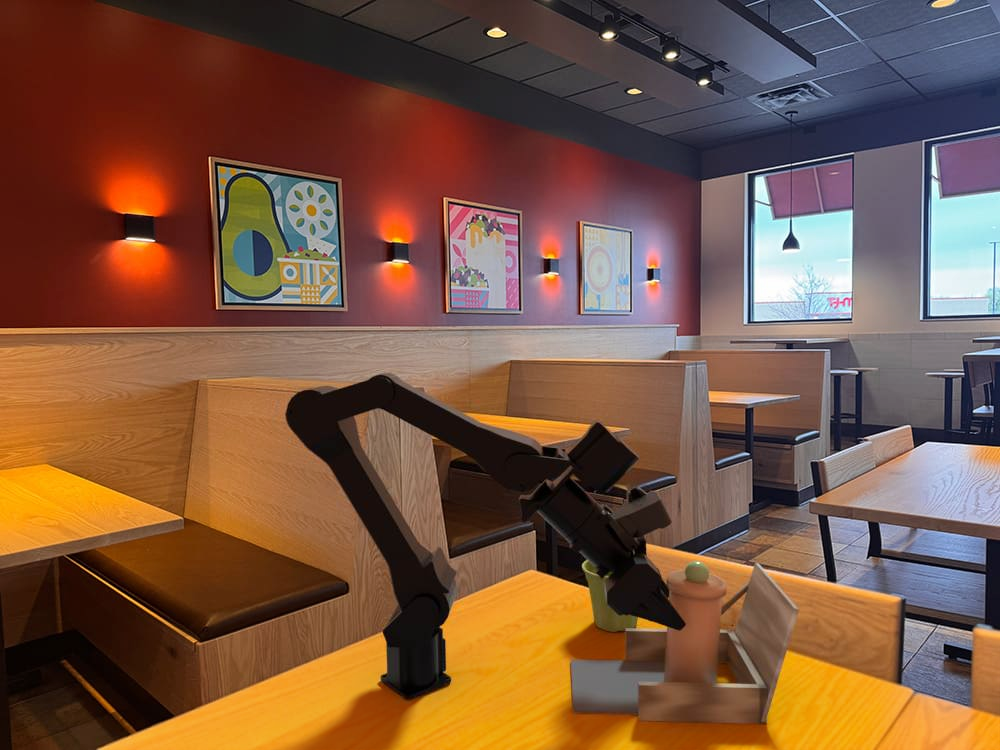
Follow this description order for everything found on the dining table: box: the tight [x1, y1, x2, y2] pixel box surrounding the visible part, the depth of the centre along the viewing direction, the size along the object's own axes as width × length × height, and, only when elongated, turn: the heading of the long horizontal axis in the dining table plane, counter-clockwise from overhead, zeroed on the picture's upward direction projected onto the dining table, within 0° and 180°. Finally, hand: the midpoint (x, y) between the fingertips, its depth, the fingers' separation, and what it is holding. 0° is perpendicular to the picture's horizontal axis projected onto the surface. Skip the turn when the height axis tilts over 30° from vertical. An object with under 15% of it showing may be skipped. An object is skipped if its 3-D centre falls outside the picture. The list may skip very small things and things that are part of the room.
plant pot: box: [581, 559, 639, 633], centre depth 102 cm, size 9×9×9 cm
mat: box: [570, 659, 665, 715], centre depth 84 cm, size 12×12×1 cm
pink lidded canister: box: [664, 560, 728, 683], centre depth 83 cm, size 7×7×15 cm
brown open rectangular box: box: [624, 562, 799, 725], centre depth 83 cm, size 17×15×13 cm
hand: (675, 610), depth 83 cm, fingers open, 9 cm apart
